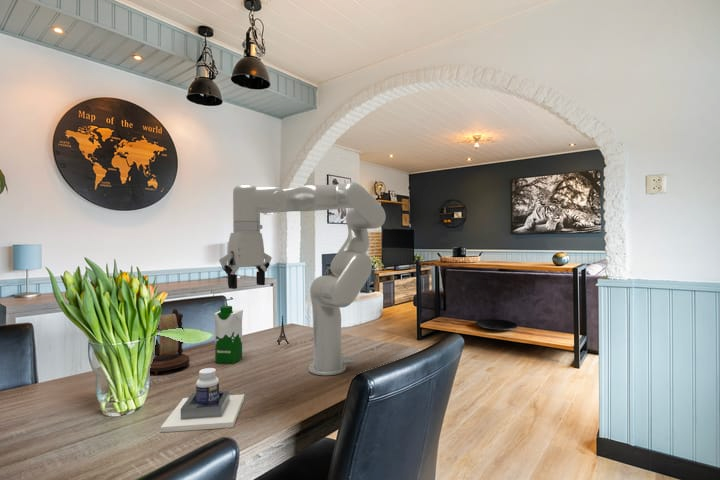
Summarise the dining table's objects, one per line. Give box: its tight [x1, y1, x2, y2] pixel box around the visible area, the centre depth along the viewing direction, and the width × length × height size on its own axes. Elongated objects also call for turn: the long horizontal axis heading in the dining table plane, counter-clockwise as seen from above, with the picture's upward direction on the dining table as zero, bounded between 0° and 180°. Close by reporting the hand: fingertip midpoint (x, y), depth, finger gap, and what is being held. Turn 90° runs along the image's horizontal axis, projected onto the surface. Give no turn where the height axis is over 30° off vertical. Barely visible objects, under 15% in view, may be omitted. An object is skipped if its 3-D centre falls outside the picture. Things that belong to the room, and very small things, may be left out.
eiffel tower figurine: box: [276, 313, 290, 345], centre depth 159 cm, size 15×10×13 cm
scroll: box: [149, 308, 191, 376], centre depth 129 cm, size 15×15×20 cm
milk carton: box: [213, 305, 244, 365], centre depth 137 cm, size 9×9×20 cm
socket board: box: [160, 393, 245, 433], centre depth 95 cm, size 16×16×1 cm
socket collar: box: [181, 390, 231, 419], centre depth 95 cm, size 9×9×2 cm
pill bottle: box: [195, 367, 220, 406], centre depth 95 cm, size 5×5×10 cm
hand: (247, 286), depth 110 cm, fingers open, 9 cm apart
